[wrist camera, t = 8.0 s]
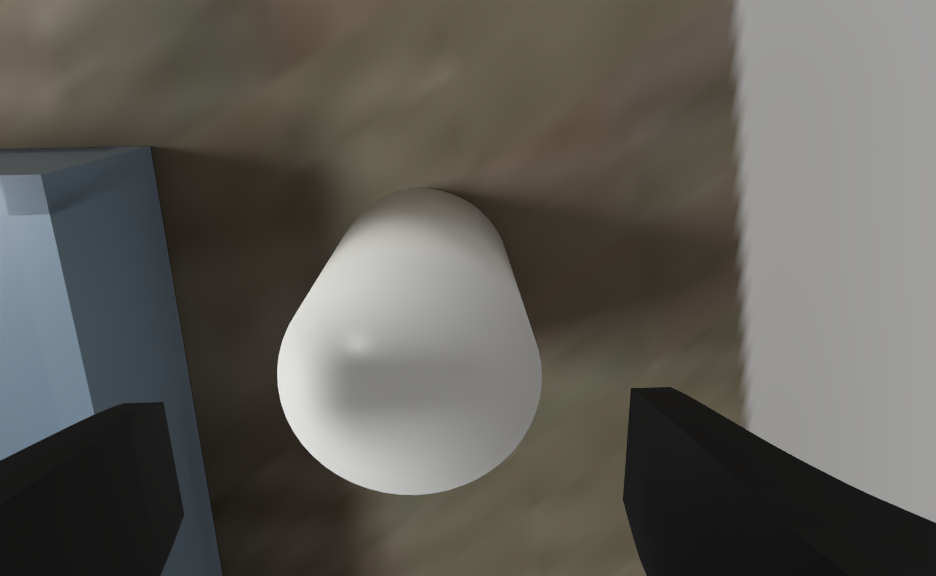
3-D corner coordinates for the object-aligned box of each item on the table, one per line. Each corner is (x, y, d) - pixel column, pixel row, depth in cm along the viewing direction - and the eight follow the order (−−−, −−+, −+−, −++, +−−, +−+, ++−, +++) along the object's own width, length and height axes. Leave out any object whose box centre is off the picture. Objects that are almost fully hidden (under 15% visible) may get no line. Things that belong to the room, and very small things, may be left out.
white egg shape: (508, 350, 20) (539, 491, 13) (343, 354, 20) (291, 499, 13) (508, 186, 18) (544, 252, 12) (329, 190, 18) (262, 259, 11)
